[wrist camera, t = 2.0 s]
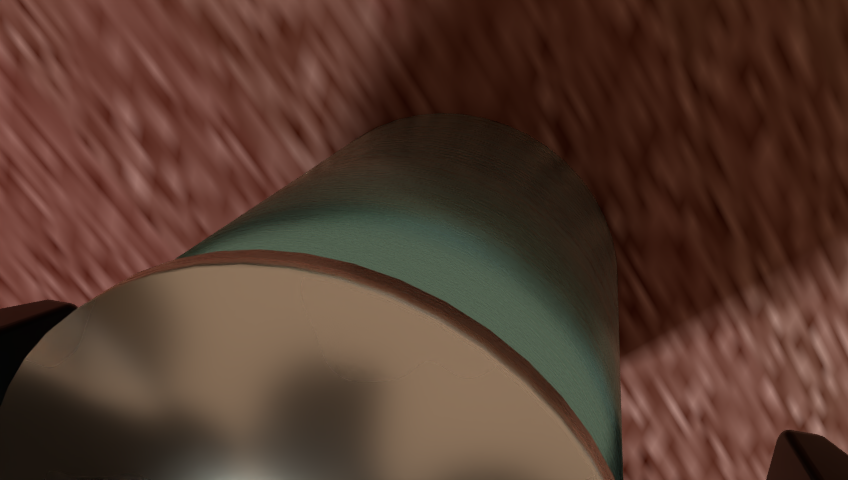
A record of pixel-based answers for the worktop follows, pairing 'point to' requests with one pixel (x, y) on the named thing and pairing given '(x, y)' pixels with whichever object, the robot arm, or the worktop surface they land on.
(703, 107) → the worktop surface
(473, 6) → the worktop surface
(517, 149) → the tea tin
